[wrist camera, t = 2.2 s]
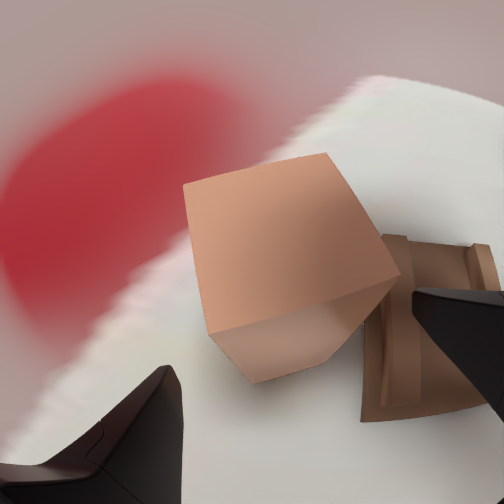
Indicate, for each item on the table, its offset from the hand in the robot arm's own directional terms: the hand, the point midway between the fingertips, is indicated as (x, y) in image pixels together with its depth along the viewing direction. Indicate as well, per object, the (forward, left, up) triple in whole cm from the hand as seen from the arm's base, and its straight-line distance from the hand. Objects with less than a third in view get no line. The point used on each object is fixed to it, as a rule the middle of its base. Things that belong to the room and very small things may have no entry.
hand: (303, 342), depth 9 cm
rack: (+6, -10, -10) cm, 16 cm away
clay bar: (+2, +2, -10) cm, 10 cm away
